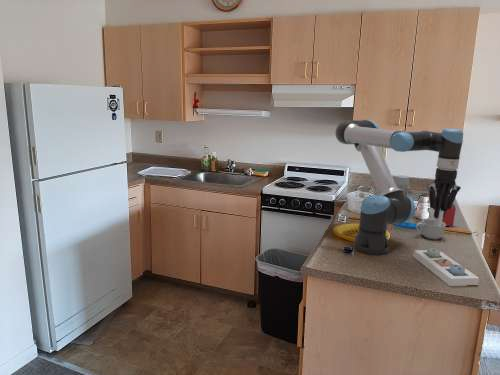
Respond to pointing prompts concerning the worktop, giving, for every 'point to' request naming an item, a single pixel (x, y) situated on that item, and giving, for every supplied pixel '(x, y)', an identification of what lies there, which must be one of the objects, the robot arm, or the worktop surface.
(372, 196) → the robot arm
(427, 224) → the teacup
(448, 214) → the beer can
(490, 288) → the worktop surface
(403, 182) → the water bottle
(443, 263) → the three pip button
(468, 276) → the button panel
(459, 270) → the two pip button
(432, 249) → the one pip button
